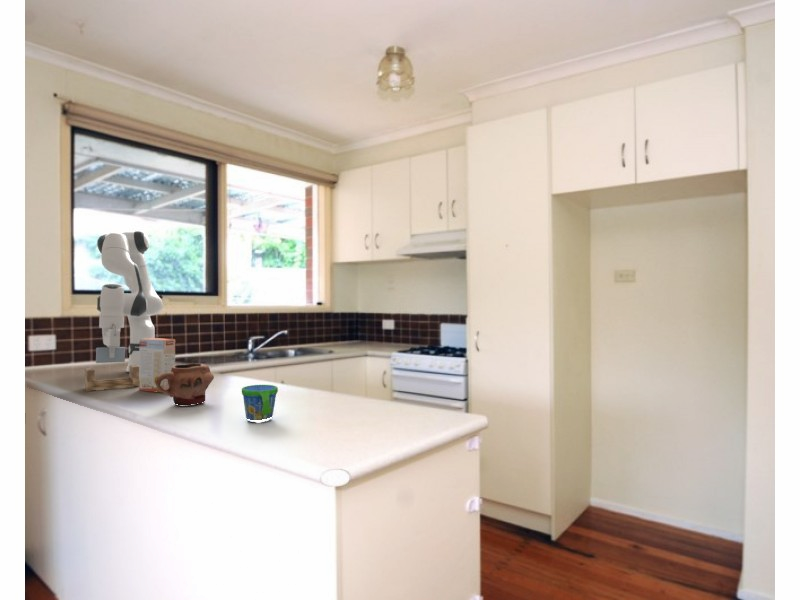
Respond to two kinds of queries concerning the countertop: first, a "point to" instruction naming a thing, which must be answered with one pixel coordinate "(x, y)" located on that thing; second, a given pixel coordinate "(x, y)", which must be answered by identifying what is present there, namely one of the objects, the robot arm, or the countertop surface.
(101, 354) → the door panel
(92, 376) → the track frame
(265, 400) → the snack cup
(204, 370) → the brown mug
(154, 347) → the cracker box
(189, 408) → the countertop surface
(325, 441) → the countertop surface
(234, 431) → the countertop surface
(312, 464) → the countertop surface
